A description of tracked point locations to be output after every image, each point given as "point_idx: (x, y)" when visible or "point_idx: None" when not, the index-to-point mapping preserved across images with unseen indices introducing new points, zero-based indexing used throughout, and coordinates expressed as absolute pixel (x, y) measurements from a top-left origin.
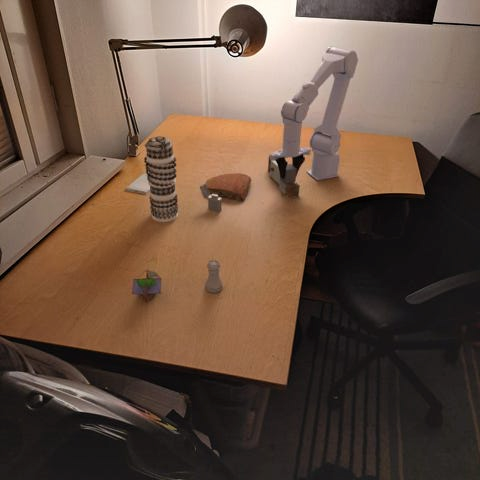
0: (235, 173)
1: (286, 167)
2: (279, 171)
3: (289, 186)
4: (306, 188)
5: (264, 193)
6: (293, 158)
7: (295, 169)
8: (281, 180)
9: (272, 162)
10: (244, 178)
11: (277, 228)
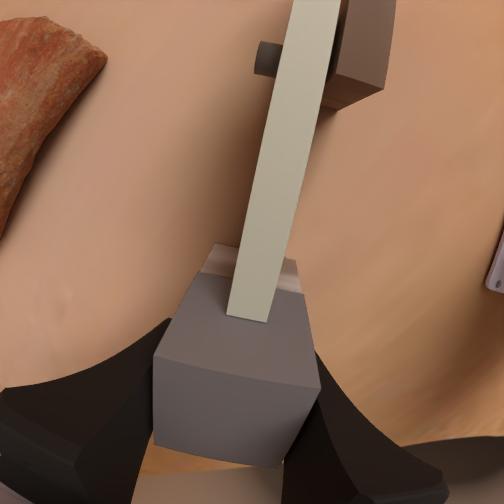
0: (12, 24)
1: (191, 420)
2: (140, 341)
3: None
4: (373, 325)
5: (103, 235)
6: (324, 490)
7: (263, 460)
8: None
9: (291, 13)
10: (2, 116)
11: None
